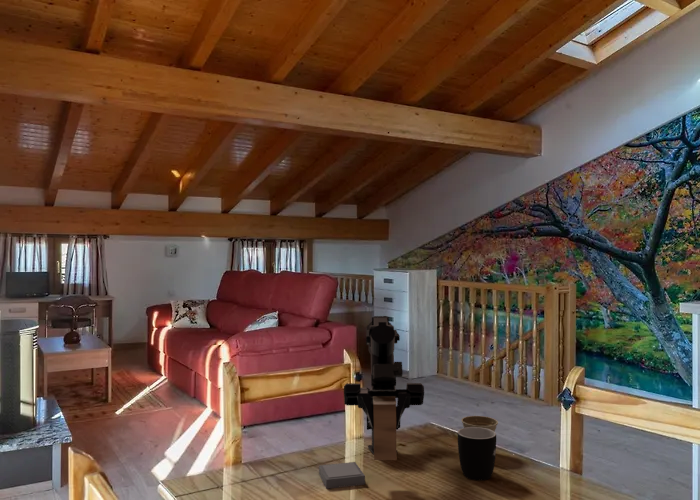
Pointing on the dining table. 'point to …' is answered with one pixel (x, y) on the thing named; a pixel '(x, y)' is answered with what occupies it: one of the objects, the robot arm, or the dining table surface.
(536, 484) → the dining table surface
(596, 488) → the dining table surface
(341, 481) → the slate base
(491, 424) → the flower pot
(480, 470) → the mug
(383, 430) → the brown tall rectangular block
